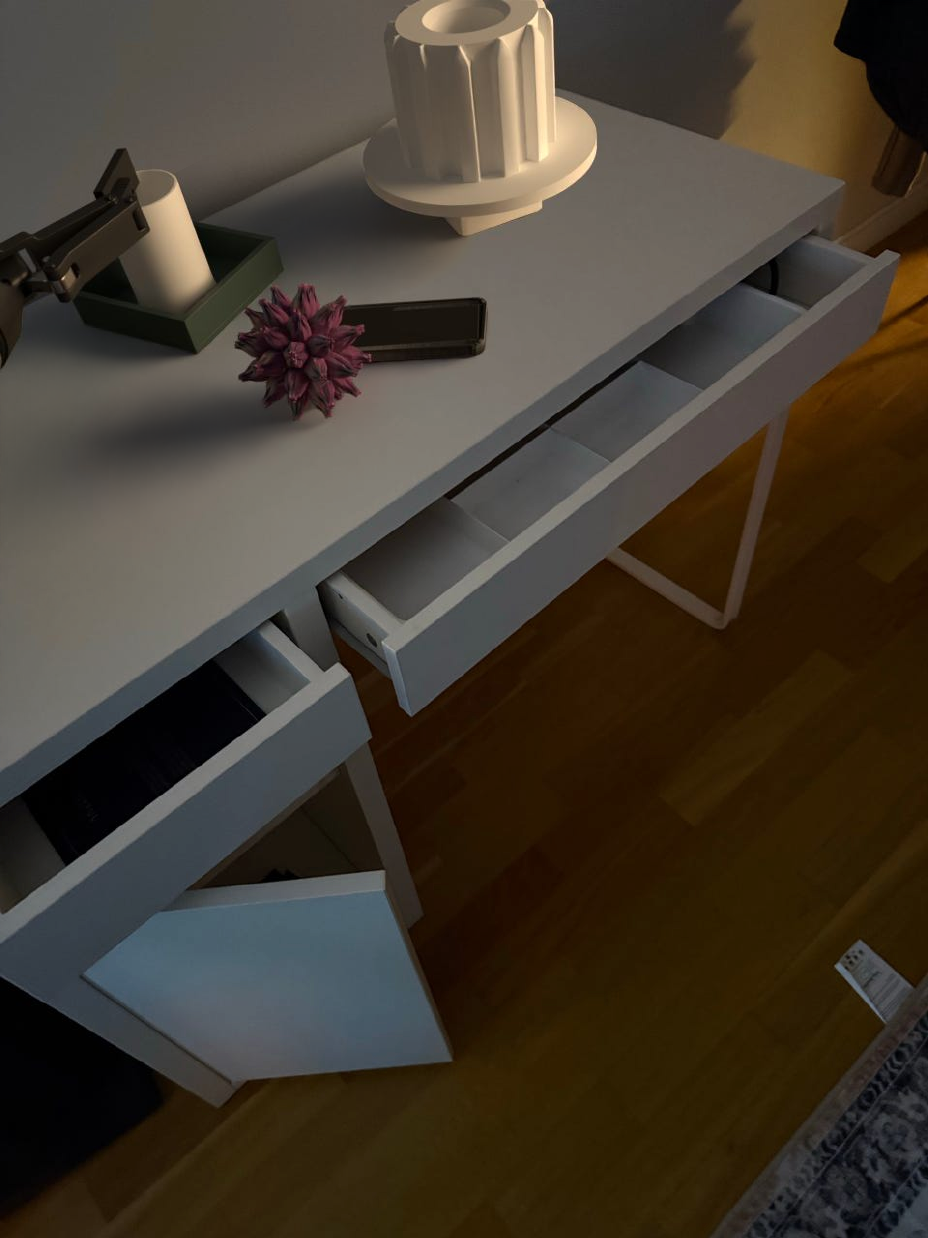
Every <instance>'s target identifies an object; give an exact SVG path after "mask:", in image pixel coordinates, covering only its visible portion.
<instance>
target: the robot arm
mask: <svg viewBox="0 0 928 1238" xmlns="http://www.w3.org/2000/svg"><path fill="white" fill-rule="evenodd" d="M136 171H137V170H136V169H135V167H134V164H133V162H132V159H131V157H130V154H129V151H128V149H127V147H122V148H121V147H120V148H116V150H115V151H114V153H113V155H112V157H111V158H110V160H109V162H108V164H107V166H106V167H105V170H104V171H103V173H102V174H101V177H100V178H99V180H98V182H97V184H96V186H95V188H94V189H93V191H92V194H93V196H94V198H96V200H94V199H93V201H91V202H89V203H87V204H85V205H83V206H81V207H80V208H78V209H76V210H74V211H72V212H70V213H69V214H67V215H65V216H63V217H62V218H60V219H58V220H56V221H54V222H52V223H50V224H49V225H47V226H45V227H43V228H41V229H40V230H37V231H35V232H34V233H29V232H27V231H24V230H22V231H20V232H18V233H16V234H14V235H12V236H10V237H8V238H7V239H5V240H3V241H2V242H0V372H1V371H2V369H3V368H4V366H6V363H7V362H8V360H9V358H10V356H11V354H12V353H13V350H14V349H15V347H16V345H17V343H18V341H19V339H20V337H21V334H22V330H23V317H24V308H25V306H26V305H27V304H28V303H30V302H31V301H32V300H33V299H35V298H36V297H37V295H38V294H39V293H53V294H54V295H55V297H56V299H57V301H58V303H60V304H68V303H71V302H72V300H74V299H75V297H76V296H77V295H78V293H79V292H80V290H81V289H82V287H83V286H84V284H85V283H87V282H88V281H89V280H90V279H92V278H93V277H94V276H95V275H96V274H98V273H99V272H100V271H101V270H103V269H104V268H105V267H106V266H108V265H109V264H110V263H111V262H113V261H114V260H115V259H116V258H118V257H119V256H120V255H121V254H123V253H124V252H125V251H126V250H128V249H129V248H130V247H131V246H133V245H134V244H135V243H136V242H137V241H139V240H140V239H141V238H142V237H144V236H145V235H146V234H147V233H149V231H150V228H149V226H148V223H147V221H146V218H145V216H144V213H143V211H142V208H141V206H140V203H139V201H138V197H137V194H136V189H137V187H138V185H139V183H140V182H139V179H138V177H137V174H136ZM24 249H25V251H26V253H27V255H28V257H29V258H30V261H31V263H32V264H33V266H34V268H35V271H33V272H32V269H31V268H30V266H29V265H28V263H27V262H26V260H25V259H24V257H23V256H22V254H21V253H20V252H21V251H23V250H24Z"/></svg>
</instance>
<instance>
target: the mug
mask: <svg viewBox="0 0 928 1238" xmlns="http://www.w3.org/2000/svg"><path fill="white" fill-rule="evenodd" d="M135 171H136V174H137V177H138V179H139V182H140V183H139V185H138V187H137V189H136V194H137V197H138V201H139V203H140V206H141V208H142V211H143V213H144V216H145V218H146V221H147V223H148V226H149V228H150V231H149V233H147V234H146V235H145V236H144V237H142V238H141V239H140V240H139V241H137V242H136V243H135V244H134V245H133V246H131V247H130V248H129V249H128V250H126V251H125V252H124V253H123V254H121V255H120V256H119V259H120V262H121V264H122V266H123V268H124V271H125V273H126V275H127V277H128V280H129V282H130V284H131V286H132V288H133V291H134V293H135V295H136V298H137V300H138V304H139V305H141V306H145V307H149V308H153V309H157V310H161V311H165V312H169V313H173V314H177V315H181V316H184V315H185V314H186V313H187V312H188V311H189V310H190V309H191V308H192V307H193V306H194V305H195V304H196V303H198V302H199V301H200V300H201V299H202V298H203V297H204V296H205V295H206V294H207V293H208V292H209V291H210V290H212V289H213V288H214V287H215V286H216V285H217V283H216V281H215V280H214V278H213V276H212V274H211V271H210V269H209V266H208V263H207V261H206V258H205V255H204V253H203V250H202V247H201V244H200V242H199V239H198V236H197V234H196V231H195V228H194V225H193V223H192V221H193V220H192V217H191V215H190V212H189V209H188V207H187V204H186V201H185V199H184V196H183V193H182V190H181V188H180V184H179V182H178V179H177V177H176V175H174V174H173V173H172V172H170V171H168V170H163V169H157V168H156V169H154V168H153V169H152V168H151V169H142V170H141V169H140V170H135ZM94 200H96V198H95V197H93V201H94Z"/></svg>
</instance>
